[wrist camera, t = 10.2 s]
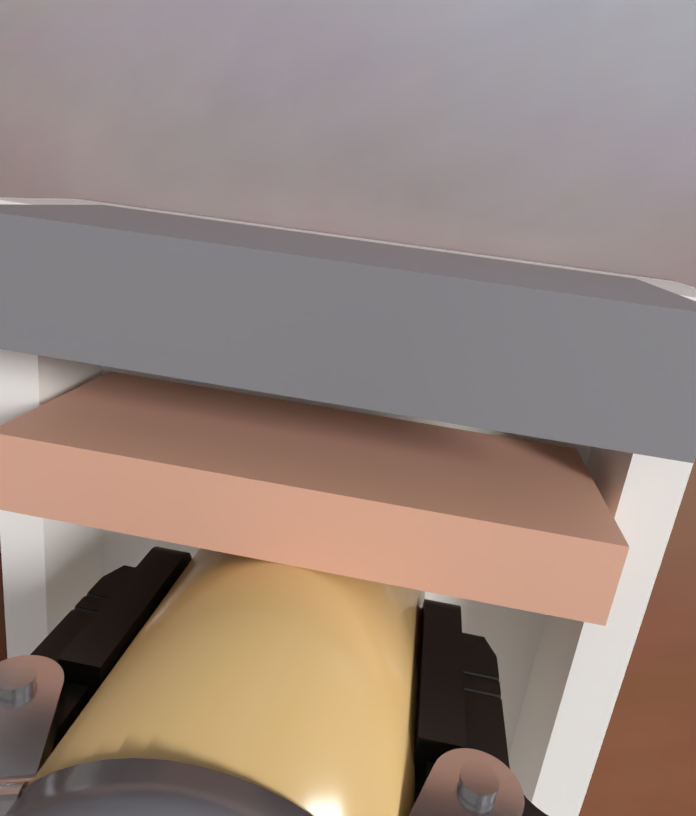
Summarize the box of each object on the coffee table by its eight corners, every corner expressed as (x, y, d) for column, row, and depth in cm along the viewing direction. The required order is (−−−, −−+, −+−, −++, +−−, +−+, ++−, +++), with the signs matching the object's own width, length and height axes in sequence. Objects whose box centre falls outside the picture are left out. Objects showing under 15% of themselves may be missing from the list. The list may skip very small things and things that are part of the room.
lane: (78, 199, 14) (-126, 194, 9) (675, 281, 13) (824, 329, 8) (85, 794, 20) (-38, 996, 15) (499, 892, 19) (520, 1150, 14)
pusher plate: (110, 371, 14) (-13, 431, 10) (576, 448, 13) (629, 546, 9) (110, 429, 15) (-8, 508, 11) (560, 509, 14) (605, 625, 10)
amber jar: (217, 445, 14) (-117, 794, 6) (448, 485, 14) (454, 933, 5) (206, 637, 16) (-70, 1130, 7) (411, 679, 15) (371, 1262, 7)
